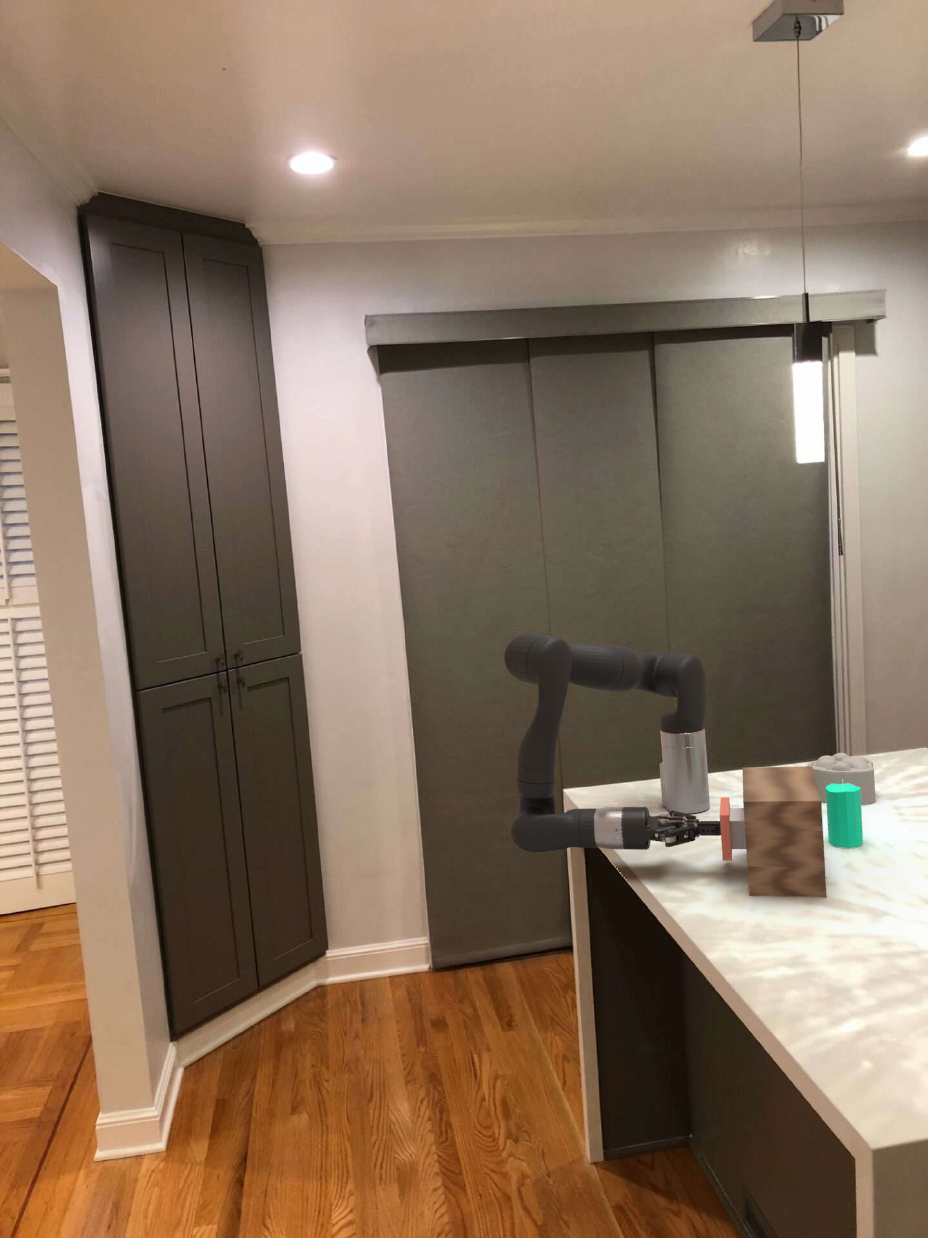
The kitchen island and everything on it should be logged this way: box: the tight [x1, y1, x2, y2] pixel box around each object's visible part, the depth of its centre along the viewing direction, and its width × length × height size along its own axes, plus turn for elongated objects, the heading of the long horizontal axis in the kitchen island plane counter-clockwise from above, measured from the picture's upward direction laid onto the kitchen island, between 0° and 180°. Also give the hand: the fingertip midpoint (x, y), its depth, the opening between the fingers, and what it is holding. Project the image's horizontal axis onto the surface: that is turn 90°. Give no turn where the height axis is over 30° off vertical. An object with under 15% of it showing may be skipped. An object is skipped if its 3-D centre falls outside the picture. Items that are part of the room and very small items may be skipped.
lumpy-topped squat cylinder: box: [806, 752, 876, 806], centre depth 203 cm, size 10×13×9 cm
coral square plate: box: [719, 796, 746, 862], centre depth 167 cm, size 10×10×8 cm
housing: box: [742, 765, 827, 898], centre depth 166 cm, size 12×20×16 cm, turn 164°
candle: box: [826, 779, 864, 849], centre depth 177 cm, size 6×6×12 cm
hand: (721, 828), depth 169 cm, fingers closed
